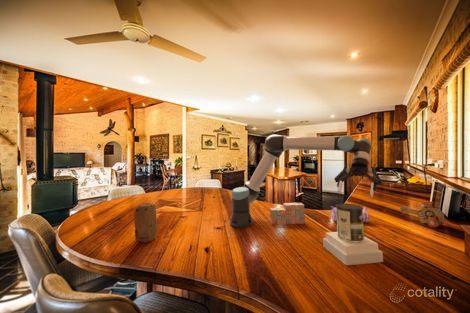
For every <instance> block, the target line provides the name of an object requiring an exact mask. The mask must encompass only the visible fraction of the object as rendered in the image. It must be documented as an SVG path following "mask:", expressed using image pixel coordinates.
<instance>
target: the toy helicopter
mask: <svg viewBox="0 0 470 313" xmlns="http://www.w3.org/2000/svg"><path fill="white" fill-rule="evenodd" d="M431 204H432V202H429V203H427V202H425V201H423V202H421V204H418V205H417V207H420V206H421V207H422V208H420V209H416V208H409V207H408V206H405V205H403V206H400V207H399V211H400V212H401V213H402V214H404V215H406V214H410V215H411V214H412V215H415V216H417V217H418V218H419V222H420V223H422V224H427V225H428V226H429V227H431V228H437V227H439V226H442V225H445V214H444V212H443V211H442V210H441V209H438V208H436V207H432V206H431V207H430V205H431Z"/></svg>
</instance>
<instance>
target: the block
mask: <svg viewBox="0 0 470 313" xmlns="http://www.w3.org/2000/svg"><path fill="white" fill-rule="evenodd" d="M133 221H134V222H133V223H134V228H135V229H134V238H135V241H137V242H140V241H141V242H142V243H149V242H152V241H153V240H155V238H156V235H157V233H158V232H157V228H158V225H157V224H158V222H157V207H156V204H155V203H153V202H152V203H150V202H146V203H145V202H144V203H140V204H139V205H137V206H136V207H135V209H134V213H133ZM141 242H140V243H141Z"/></svg>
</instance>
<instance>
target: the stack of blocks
mask: <svg viewBox="0 0 470 313" xmlns="http://www.w3.org/2000/svg"><path fill="white" fill-rule="evenodd" d="M282 204H283V206H282V207H270V208H269V210H270V211H269V212H270V213H269V214H270V223H271V224H272V225H297V224H298V225H301V224H304V225H305V224H306V218H305V217H306V216H305V215H306V210H305V204H303V203H302V202H284V203H282Z"/></svg>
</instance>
